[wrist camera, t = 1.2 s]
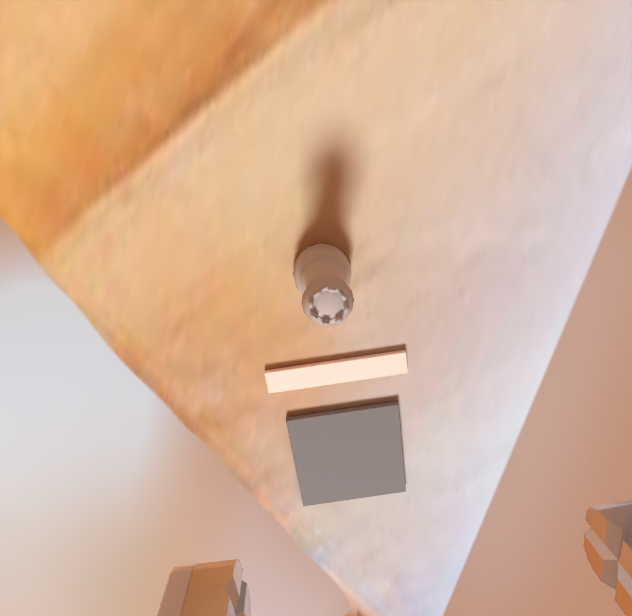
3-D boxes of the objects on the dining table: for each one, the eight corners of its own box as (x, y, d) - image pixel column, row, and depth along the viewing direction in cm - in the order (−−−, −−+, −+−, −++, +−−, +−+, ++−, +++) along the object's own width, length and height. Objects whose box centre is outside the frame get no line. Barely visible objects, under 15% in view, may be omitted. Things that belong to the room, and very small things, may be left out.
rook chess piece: (335, 232, 32) (347, 259, 25) (358, 282, 34) (376, 322, 26) (283, 257, 33) (279, 291, 25) (308, 306, 34) (311, 351, 27)
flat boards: (264, 370, 36) (264, 373, 35) (404, 349, 36) (406, 352, 35) (293, 502, 41) (293, 507, 41) (414, 485, 41) (416, 489, 41)
